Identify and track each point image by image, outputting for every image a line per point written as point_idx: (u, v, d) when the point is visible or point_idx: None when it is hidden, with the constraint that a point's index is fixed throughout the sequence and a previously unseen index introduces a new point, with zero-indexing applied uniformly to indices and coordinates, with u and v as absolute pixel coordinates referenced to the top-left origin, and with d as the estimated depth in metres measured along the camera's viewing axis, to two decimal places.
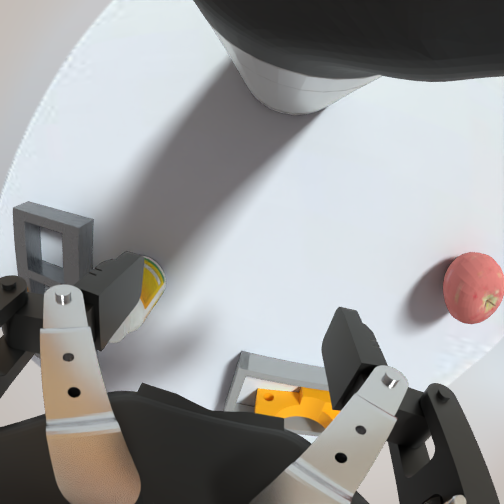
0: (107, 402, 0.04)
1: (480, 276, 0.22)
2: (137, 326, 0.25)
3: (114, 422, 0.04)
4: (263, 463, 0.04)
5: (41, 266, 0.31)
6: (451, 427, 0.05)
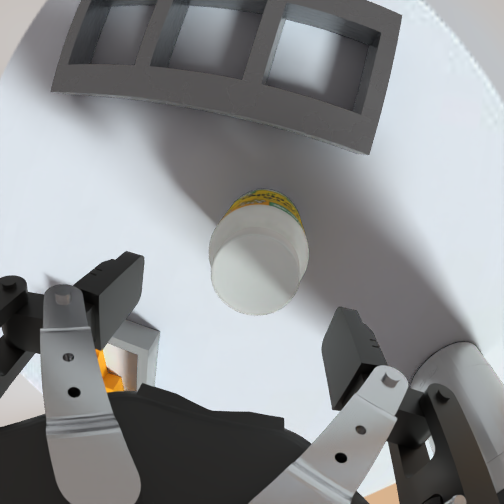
0: (107, 402, 0.04)
1: None
2: None
3: (114, 422, 0.04)
4: (263, 463, 0.04)
5: (282, 24, 0.16)
6: (451, 427, 0.05)
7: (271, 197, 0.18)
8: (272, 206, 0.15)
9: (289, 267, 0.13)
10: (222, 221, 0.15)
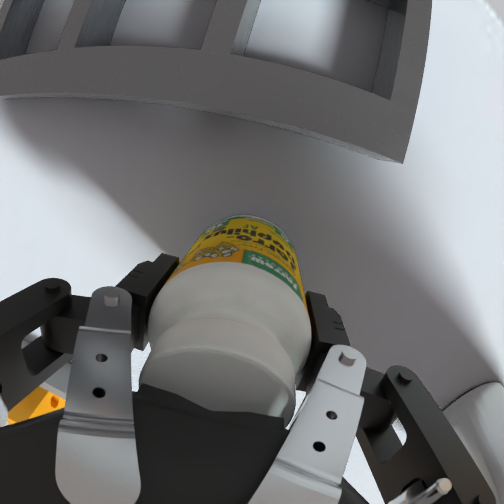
0: (130, 408, 0.04)
1: None
2: None
3: (131, 429, 0.04)
4: (263, 463, 0.04)
5: None
6: (419, 410, 0.06)
7: (250, 236, 0.11)
8: (247, 264, 0.09)
9: (276, 396, 0.06)
10: (162, 292, 0.09)
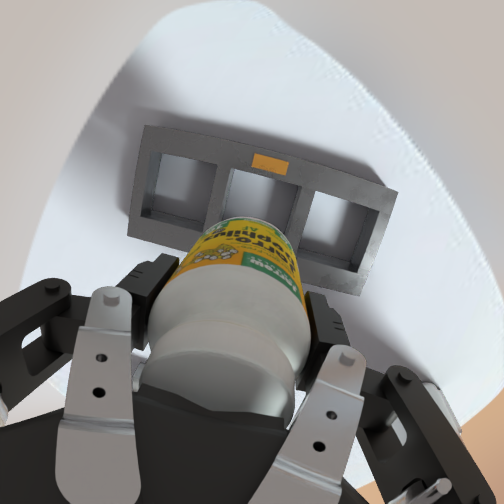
0: (130, 408, 0.04)
1: None
2: None
3: (130, 429, 0.04)
4: (263, 463, 0.04)
5: None
6: (419, 410, 0.06)
7: (249, 238, 0.11)
8: (246, 267, 0.09)
9: (275, 398, 0.06)
10: (162, 294, 0.09)
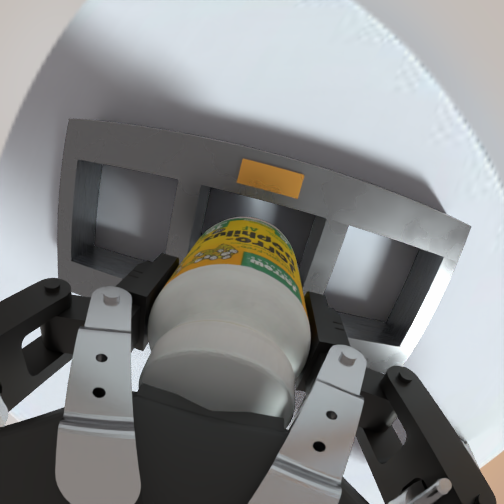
0: (130, 408, 0.04)
1: None
2: None
3: (131, 429, 0.04)
4: (263, 463, 0.04)
5: None
6: (419, 410, 0.06)
7: (249, 238, 0.11)
8: (246, 267, 0.09)
9: (275, 398, 0.06)
10: (162, 294, 0.09)
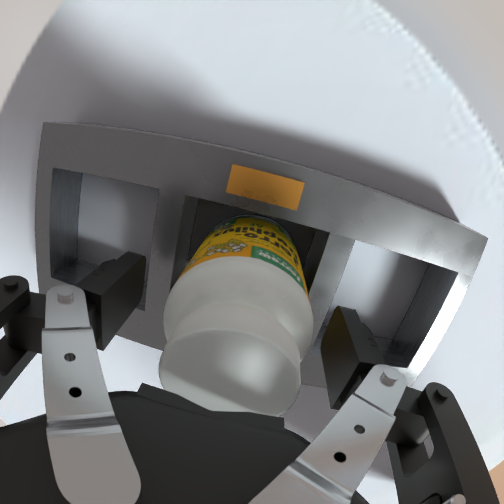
0: (108, 402, 0.04)
1: None
2: None
3: (115, 422, 0.04)
4: (263, 463, 0.04)
5: None
6: (450, 426, 0.05)
7: (256, 234, 0.12)
8: (256, 258, 0.10)
9: (283, 374, 0.07)
10: (178, 284, 0.10)
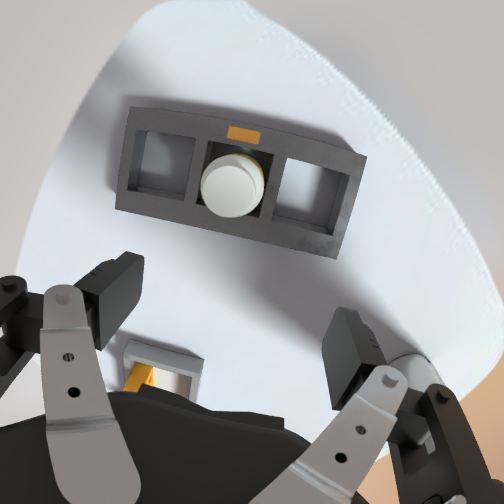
0: (107, 402, 0.04)
1: None
2: None
3: (114, 422, 0.04)
4: (263, 463, 0.04)
5: None
6: (451, 427, 0.05)
7: (240, 154, 0.26)
8: (238, 155, 0.24)
9: (248, 183, 0.22)
10: (208, 166, 0.24)
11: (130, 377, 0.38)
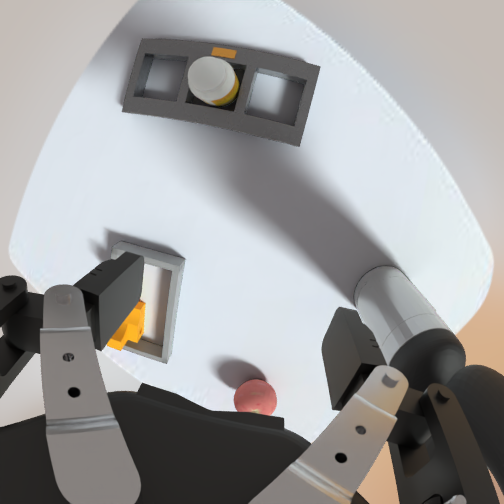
0: (107, 402, 0.04)
1: (269, 403, 0.45)
2: (197, 94, 0.30)
3: (114, 422, 0.04)
4: (263, 463, 0.04)
5: (254, 77, 0.34)
6: (451, 427, 0.05)
7: None
8: (217, 58, 0.29)
9: (220, 66, 0.26)
10: None
11: None
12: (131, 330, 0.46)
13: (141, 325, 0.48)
